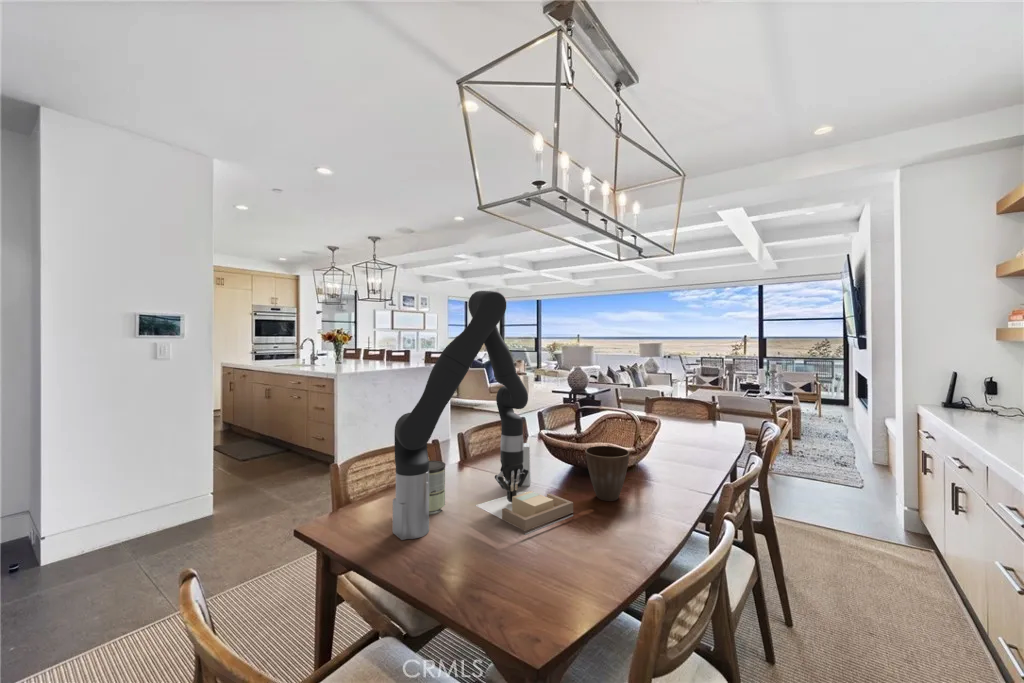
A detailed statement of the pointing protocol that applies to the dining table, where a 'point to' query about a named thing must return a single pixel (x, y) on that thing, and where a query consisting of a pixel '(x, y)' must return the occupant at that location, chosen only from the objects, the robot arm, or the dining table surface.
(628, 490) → the dining table surface
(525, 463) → the skincare box
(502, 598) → the dining table surface
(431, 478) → the coffee can
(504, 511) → the tan flat tray
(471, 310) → the robot arm
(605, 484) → the plant pot
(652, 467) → the dining table surface
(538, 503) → the carton
